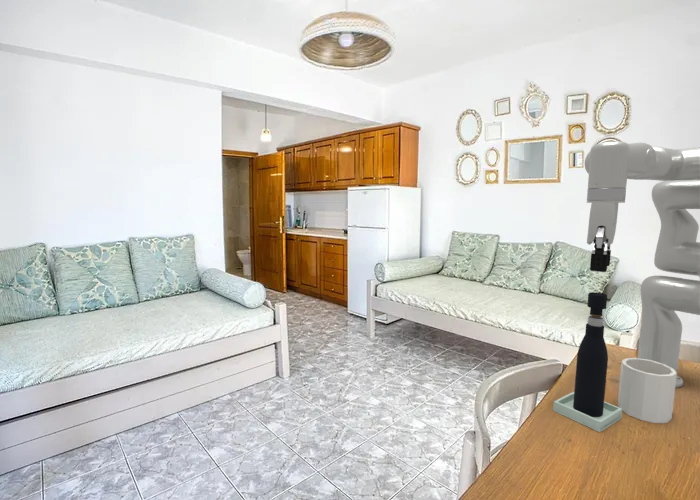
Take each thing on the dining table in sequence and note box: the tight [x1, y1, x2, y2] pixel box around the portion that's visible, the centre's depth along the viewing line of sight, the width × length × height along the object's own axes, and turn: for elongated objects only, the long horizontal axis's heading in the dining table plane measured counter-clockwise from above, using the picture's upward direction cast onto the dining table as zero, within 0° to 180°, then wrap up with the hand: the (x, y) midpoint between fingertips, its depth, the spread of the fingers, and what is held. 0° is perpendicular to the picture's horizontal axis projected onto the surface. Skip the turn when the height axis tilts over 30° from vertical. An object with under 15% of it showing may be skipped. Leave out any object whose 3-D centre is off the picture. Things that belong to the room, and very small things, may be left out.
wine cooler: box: [617, 357, 678, 424], centre depth 96 cm, size 11×11×12 cm
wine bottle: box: [573, 291, 609, 417], centre depth 93 cm, size 6×6×30 cm
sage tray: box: [552, 391, 623, 433], centre depth 95 cm, size 11×11×2 cm
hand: (600, 268), depth 91 cm, fingers open, 9 cm apart
